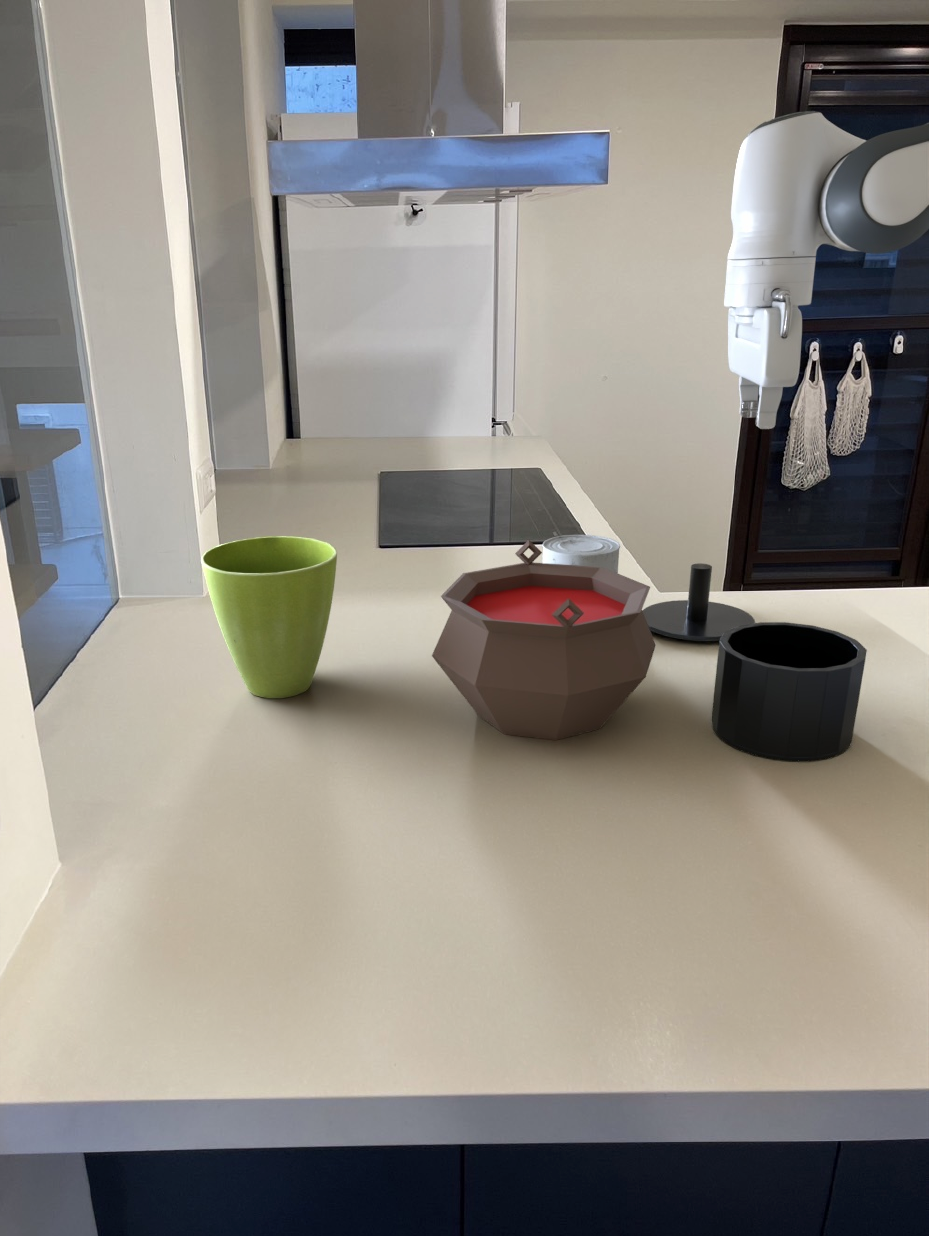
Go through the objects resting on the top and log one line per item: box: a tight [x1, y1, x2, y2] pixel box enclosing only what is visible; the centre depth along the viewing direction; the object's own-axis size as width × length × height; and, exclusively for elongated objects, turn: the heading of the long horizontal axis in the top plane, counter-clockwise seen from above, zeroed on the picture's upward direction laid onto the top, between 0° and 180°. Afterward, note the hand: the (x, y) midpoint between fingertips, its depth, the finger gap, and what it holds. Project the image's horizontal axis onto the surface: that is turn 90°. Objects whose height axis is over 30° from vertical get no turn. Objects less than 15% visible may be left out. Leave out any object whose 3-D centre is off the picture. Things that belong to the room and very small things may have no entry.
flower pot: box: [200, 535, 338, 699], centre depth 115 cm, size 15×15×16 cm
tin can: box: [542, 534, 621, 574], centre depth 128 cm, size 10×10×12 cm
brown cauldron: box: [431, 539, 657, 741], centre depth 107 cm, size 24×24×16 cm
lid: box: [642, 562, 756, 642], centre depth 132 cm, size 15×15×8 cm
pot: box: [710, 621, 868, 763], centre depth 102 cm, size 14×14×10 cm
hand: (756, 422), depth 112 cm, fingers open, 8 cm apart
